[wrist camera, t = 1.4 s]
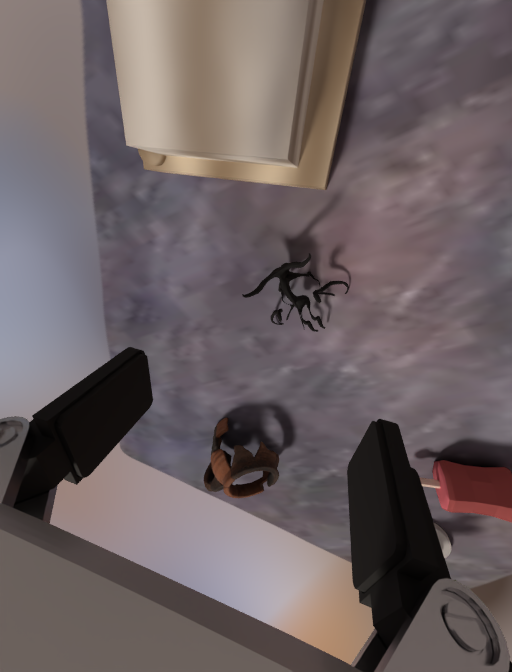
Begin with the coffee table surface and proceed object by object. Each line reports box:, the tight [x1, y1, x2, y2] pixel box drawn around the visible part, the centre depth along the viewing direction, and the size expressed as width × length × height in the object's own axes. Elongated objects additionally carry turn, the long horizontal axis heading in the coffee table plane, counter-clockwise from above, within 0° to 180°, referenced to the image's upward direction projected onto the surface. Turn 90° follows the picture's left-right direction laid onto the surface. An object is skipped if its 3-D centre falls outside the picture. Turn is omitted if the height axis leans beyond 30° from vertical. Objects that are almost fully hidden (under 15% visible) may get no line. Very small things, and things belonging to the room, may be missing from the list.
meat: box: [420, 460, 512, 522], centre depth 25 cm, size 12×5×5 cm, turn 101°
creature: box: [242, 253, 349, 332], centre depth 21 cm, size 8×5×8 cm
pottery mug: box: [204, 418, 279, 498], centre depth 34 cm, size 12×10×8 cm
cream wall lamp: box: [107, 0, 366, 190], centre depth 14 cm, size 14×12×7 cm
